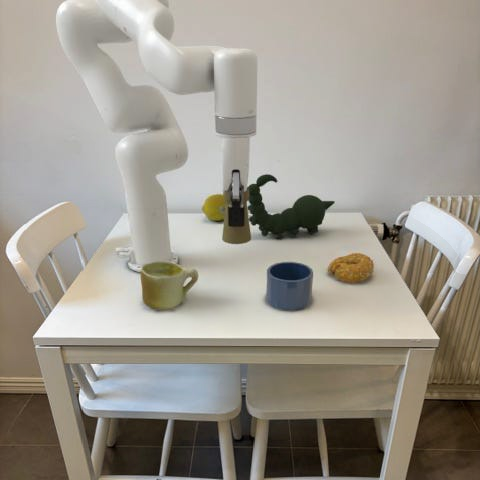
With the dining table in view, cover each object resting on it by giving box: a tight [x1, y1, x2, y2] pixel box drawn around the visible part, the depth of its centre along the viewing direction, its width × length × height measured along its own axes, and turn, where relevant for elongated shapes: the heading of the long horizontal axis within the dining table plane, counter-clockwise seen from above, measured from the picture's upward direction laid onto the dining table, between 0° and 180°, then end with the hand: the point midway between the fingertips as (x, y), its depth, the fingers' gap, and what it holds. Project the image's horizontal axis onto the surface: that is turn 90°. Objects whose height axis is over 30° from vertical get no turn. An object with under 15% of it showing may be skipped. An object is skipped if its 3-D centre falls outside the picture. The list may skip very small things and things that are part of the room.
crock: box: [265, 261, 314, 312], centre depth 105 cm, size 10×10×7 cm
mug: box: [140, 261, 199, 311], centre depth 105 cm, size 12×10×10 cm
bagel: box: [327, 252, 375, 284], centre depth 116 cm, size 10×11×5 cm
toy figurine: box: [247, 173, 335, 240], centre depth 136 cm, size 9×19×25 cm
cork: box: [221, 187, 252, 245], centre depth 97 cm, size 6×6×11 cm
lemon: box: [201, 193, 226, 222], centre depth 149 cm, size 11×8×8 cm
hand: (236, 220), depth 97 cm, fingers closed on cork, 4 cm apart
